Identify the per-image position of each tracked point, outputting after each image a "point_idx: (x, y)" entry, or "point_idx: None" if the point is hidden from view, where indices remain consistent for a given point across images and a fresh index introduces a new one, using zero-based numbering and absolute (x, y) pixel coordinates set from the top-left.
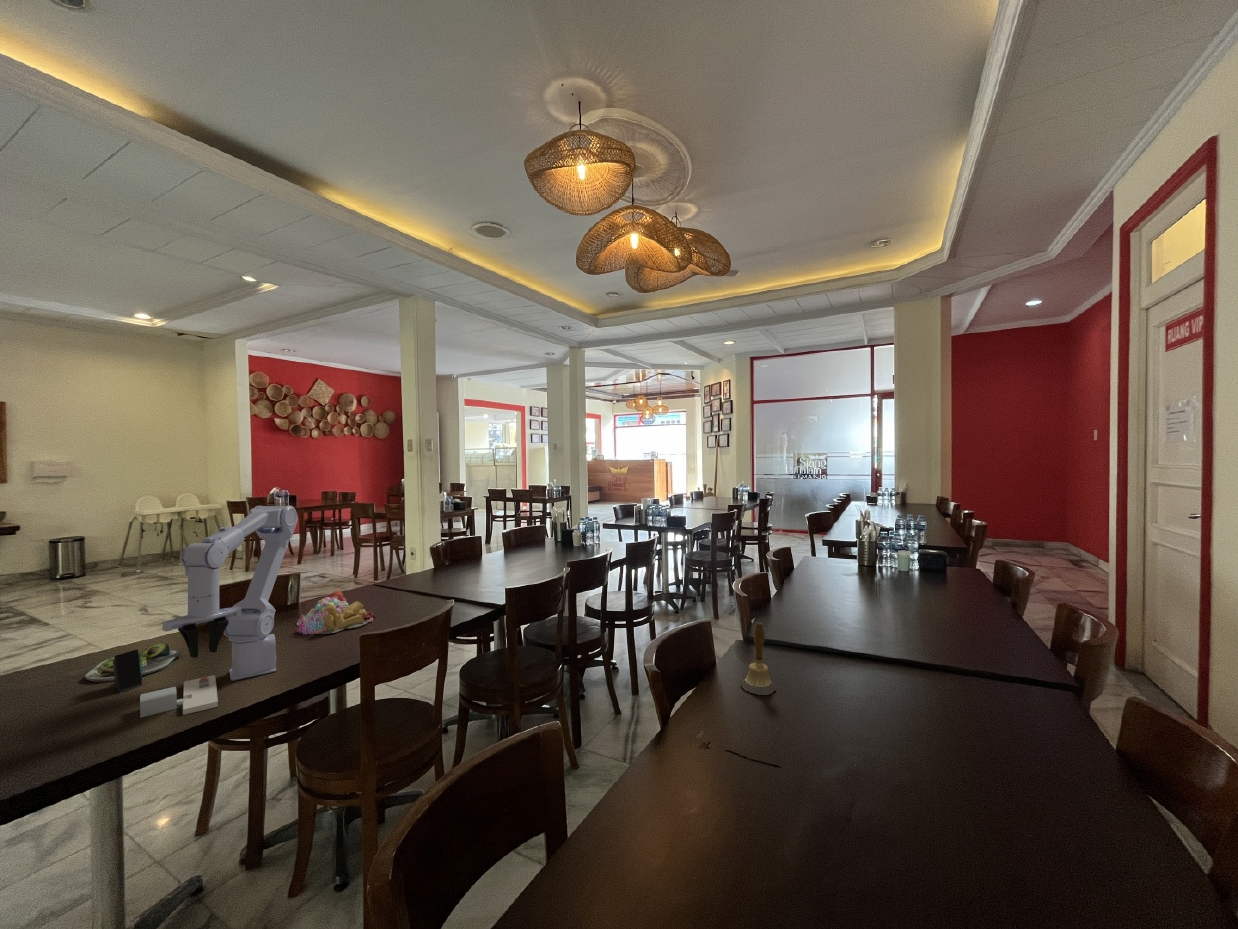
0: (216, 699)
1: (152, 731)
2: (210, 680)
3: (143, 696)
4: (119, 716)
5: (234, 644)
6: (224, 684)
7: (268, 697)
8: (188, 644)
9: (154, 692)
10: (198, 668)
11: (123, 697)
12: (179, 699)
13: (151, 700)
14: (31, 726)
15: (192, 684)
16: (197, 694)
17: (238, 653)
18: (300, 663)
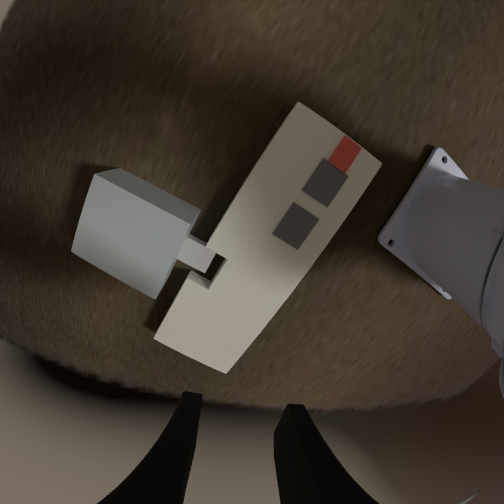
0: (231, 363)
1: (91, 336)
2: (339, 199)
3: (91, 206)
4: (75, 165)
5: (481, 272)
6: (353, 235)
7: None
8: (161, 451)
9: (123, 206)
10: (412, 14)
11: (158, 12)
12: (193, 243)
13: (95, 265)
14: (6, 45)
15: (289, 167)
16: (232, 282)
17: (451, 275)
18: None
